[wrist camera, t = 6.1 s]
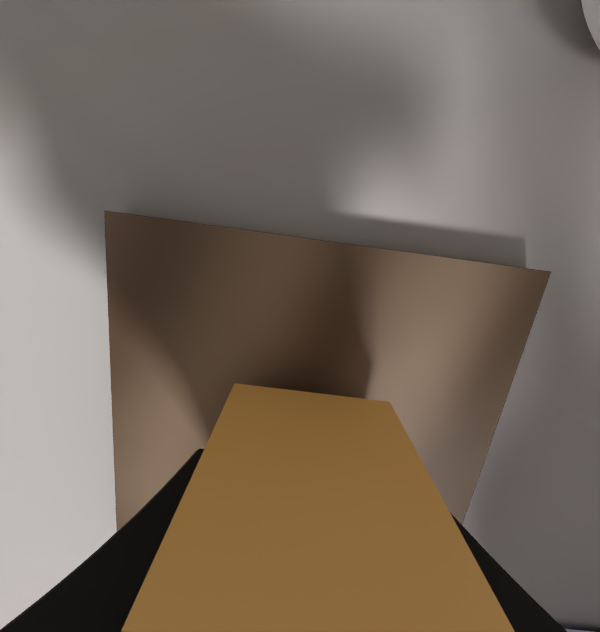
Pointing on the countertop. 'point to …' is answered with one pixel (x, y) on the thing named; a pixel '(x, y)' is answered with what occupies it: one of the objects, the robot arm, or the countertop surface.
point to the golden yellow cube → (312, 529)
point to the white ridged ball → (592, 18)
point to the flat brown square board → (304, 341)
